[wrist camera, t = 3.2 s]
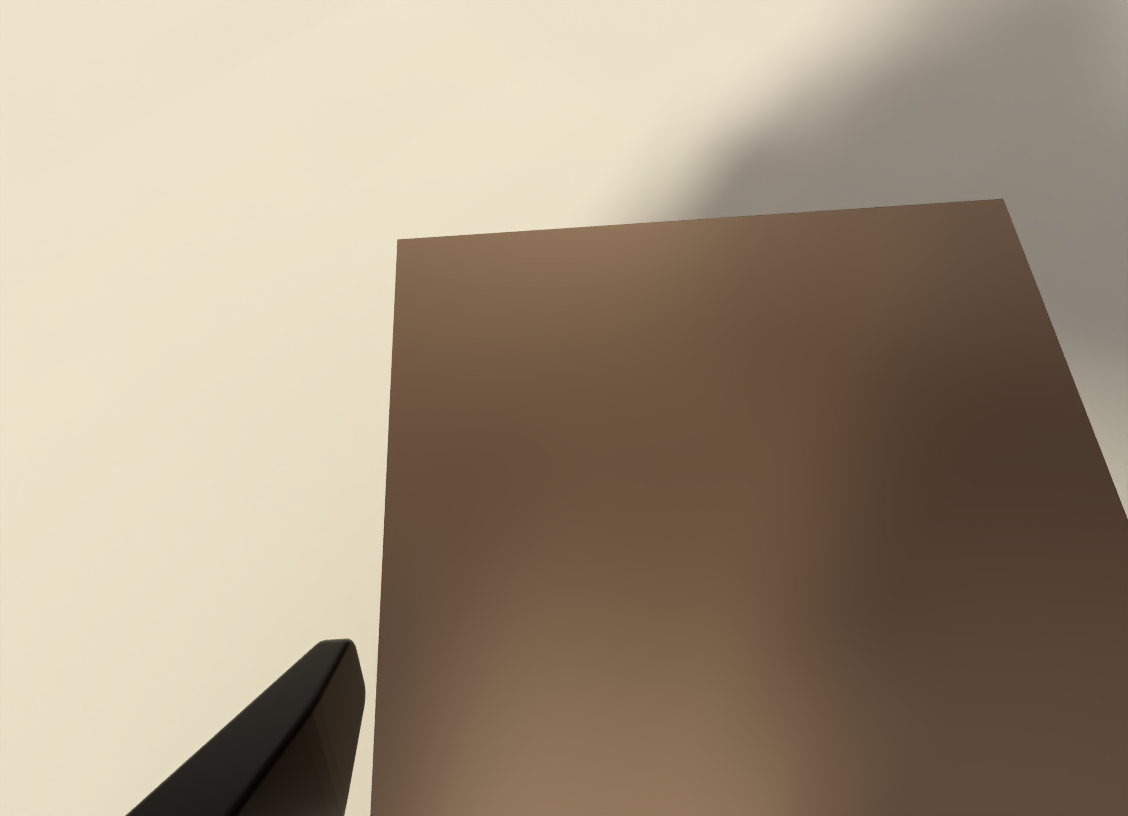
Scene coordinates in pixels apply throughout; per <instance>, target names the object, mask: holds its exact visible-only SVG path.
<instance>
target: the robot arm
mask: <svg viewBox="0 0 1128 816" xmlns="http://www.w3.org/2000/svg"><path fill="white" fill-rule="evenodd" d="M364 705H365V684H364V679H363V675H362V671H361V667H360V662H359V658H358V654H357V650H356V646H355V644H354V642H353V641H352V640H350V639H333V640H324V641H321V642H319V643H318V644H316V645H315V646H314V647H313V648H312V649H311V650H309V651H308V652H307V653H306V654H305V655H304V656H303V657H302V658H301V659H299V660H298V661H297V662H296V663H295V664H294V665H293V666H292V667H291V668H289V669H288V670H287V671H286V672H285V673H284V674H283V675H282V676H281V677H279V678H278V679H277V680H276V681H275V682H274V683H273V684H272V685H270V686H269V687H268V688H267V689H266V690H265V691H264V692H263V693H262V694H260V695H259V696H258V697H257V698H256V699H255V700H254V701H253V702H252V703H250V704H249V705H248V706H247V707H246V708H245V709H244V710H243V711H242V712H240V713H239V714H238V715H237V716H236V717H235V718H234V719H233V720H232V721H230V722H229V723H228V724H227V725H226V726H225V727H224V728H223V729H221V730H220V731H219V732H218V733H217V734H216V735H215V736H214V737H213V738H211V739H210V740H209V741H208V742H207V743H206V744H205V745H204V746H203V747H201V748H200V749H199V750H198V751H197V752H196V753H195V754H194V755H193V756H191V757H190V758H189V759H188V760H187V761H186V762H185V763H184V764H182V765H181V766H180V767H179V768H178V769H177V770H176V771H175V772H174V773H172V774H171V775H170V776H169V777H168V778H167V779H166V780H165V781H164V782H162V783H161V784H160V785H159V786H158V787H157V788H156V789H155V790H154V791H152V792H151V793H150V794H149V795H148V796H147V797H146V798H145V799H143V800H142V801H141V802H140V803H139V804H138V805H137V806H136V807H135V808H133V809H132V810H131V811H130V812H129V813H128V814H127V815H126V816H344V814H345V810H346V805H347V799H348V794H349V788H350V783H351V777H352V772H353V766H354V761H355V755H356V749H357V744H358V738H359V733H360V727H361V722H362V716H363V711H364Z"/></svg>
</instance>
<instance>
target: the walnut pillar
mask: <svg viewBox="0 0 1128 816" xmlns="http://www.w3.org/2000/svg"><path fill="white" fill-rule="evenodd" d="M370 816H1128V519H1127V516H1126V514H1125V511H1124V509H1123V506H1122V503H1121V501H1120V498H1119V496H1118V493H1117V491H1116V488H1115V485H1114V483H1113V480H1112V478H1111V475H1110V473H1109V470H1108V467H1107V465H1106V462H1105V460H1104V457H1103V455H1102V452H1101V449H1100V447H1099V444H1098V442H1097V439H1096V437H1095V434H1094V431H1093V429H1092V426H1091V424H1090V421H1089V419H1088V416H1087V413H1086V411H1085V408H1084V406H1083V403H1082V401H1081V398H1080V395H1079V393H1078V390H1077V388H1076V385H1075V383H1074V380H1073V377H1072V375H1071V372H1070V370H1069V367H1068V365H1067V362H1066V359H1065V357H1064V354H1063V352H1062V349H1061V347H1060V344H1059V341H1058V339H1057V336H1056V334H1055V331H1054V329H1053V326H1052V323H1051V321H1050V318H1049V316H1048V313H1047V311H1046V308H1045V305H1044V303H1043V300H1042V298H1041V295H1040V293H1039V290H1038V287H1037V285H1036V282H1035V280H1034V277H1033V275H1032V272H1031V269H1030V267H1029V264H1028V262H1027V259H1026V257H1025V254H1024V251H1023V249H1022V246H1021V244H1020V241H1019V239H1018V236H1017V233H1016V231H1015V228H1014V226H1013V223H1012V221H1011V218H1010V216H1009V213H1008V210H1007V208H1006V205H1005V203H1004V200H1003V199H995V200H980V201H965V202H950V203H935V204H920V205H905V206H891V207H876V208H861V209H846V210H831V211H816V212H801V213H786V214H771V215H757V216H742V217H727V218H712V219H697V220H682V221H667V222H652V223H637V224H623V225H608V226H593V227H578V228H563V229H548V230H533V231H518V232H503V233H489V234H474V235H459V236H444V237H429V238H414V239H399V240H397V261H396V283H395V304H394V325H393V346H392V368H391V389H390V410H389V431H388V453H387V474H386V495H385V516H384V538H383V559H382V580H381V601H380V623H379V644H378V665H377V686H376V708H375V729H374V750H373V772H372V793H371V814H370Z"/></svg>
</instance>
